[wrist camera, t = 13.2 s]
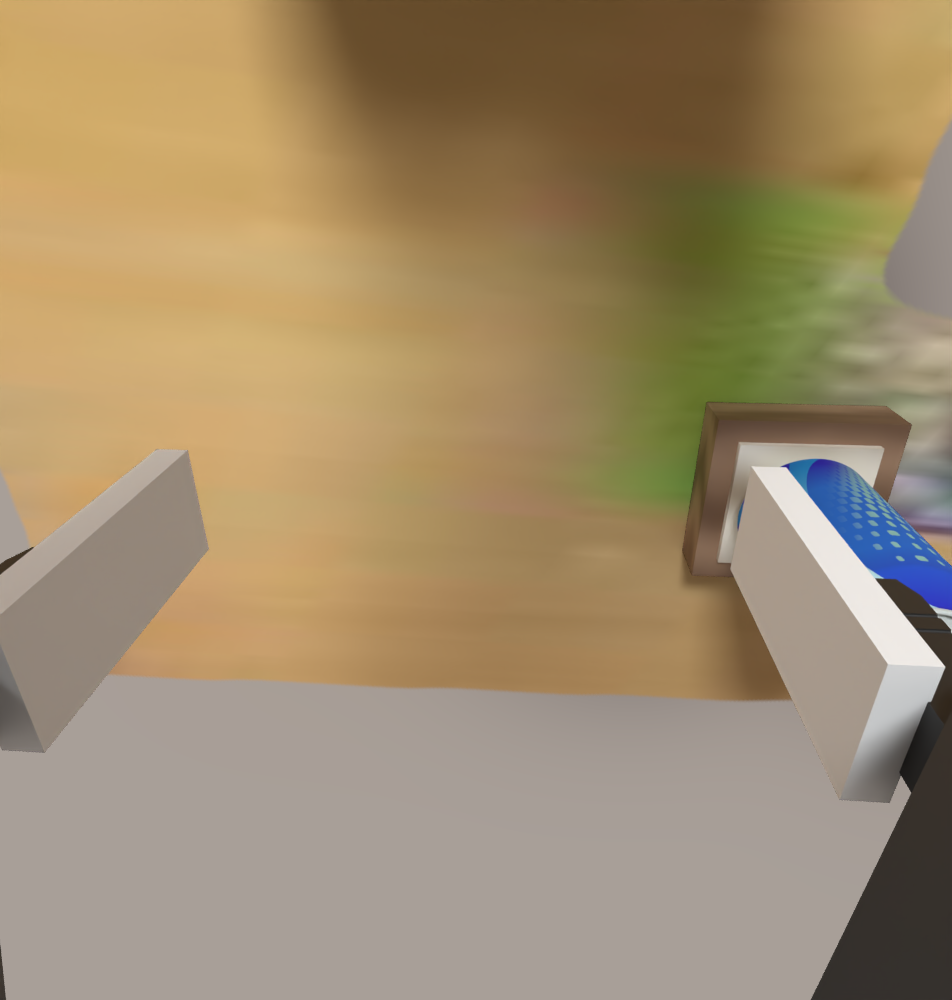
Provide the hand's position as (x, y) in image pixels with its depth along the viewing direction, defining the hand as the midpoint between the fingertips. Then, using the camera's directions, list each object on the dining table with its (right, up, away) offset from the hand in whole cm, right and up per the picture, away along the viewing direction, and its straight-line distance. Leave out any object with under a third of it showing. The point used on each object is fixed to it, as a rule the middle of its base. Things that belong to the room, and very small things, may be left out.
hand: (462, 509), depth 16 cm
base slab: (+22, +1, +33) cm, 40 cm away
